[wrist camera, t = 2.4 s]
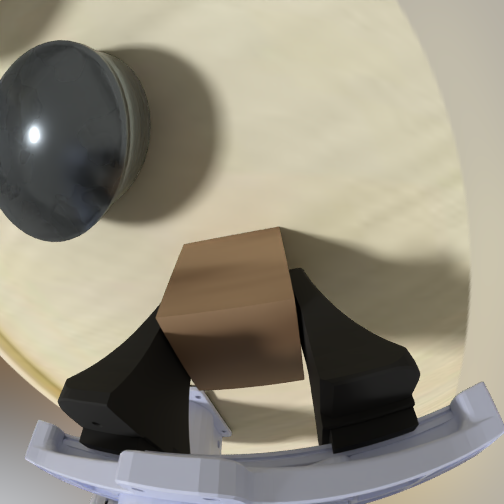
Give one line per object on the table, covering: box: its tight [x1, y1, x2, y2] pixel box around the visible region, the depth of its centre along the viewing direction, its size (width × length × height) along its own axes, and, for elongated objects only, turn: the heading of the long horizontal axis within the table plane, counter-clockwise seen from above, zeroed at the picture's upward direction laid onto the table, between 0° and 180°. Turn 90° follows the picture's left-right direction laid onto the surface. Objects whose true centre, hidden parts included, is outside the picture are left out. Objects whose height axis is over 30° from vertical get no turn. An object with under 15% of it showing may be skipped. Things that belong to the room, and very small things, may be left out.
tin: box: [0, 40, 150, 242], centre depth 9 cm, size 8×8×3 cm
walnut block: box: [156, 227, 304, 391], centre depth 12 cm, size 4×4×5 cm
